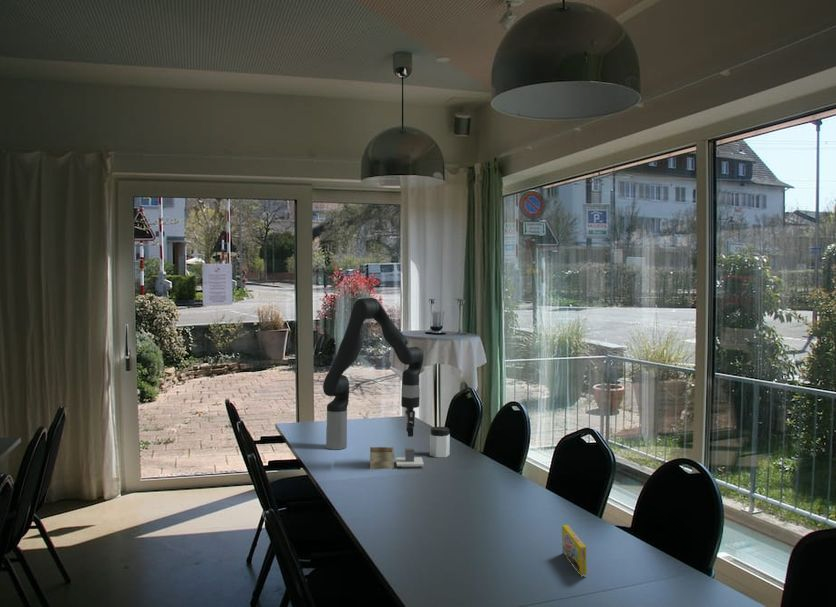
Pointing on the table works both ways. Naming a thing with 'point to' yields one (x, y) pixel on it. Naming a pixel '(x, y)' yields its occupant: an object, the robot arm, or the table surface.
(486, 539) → the table surface
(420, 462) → the lid
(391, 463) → the crate
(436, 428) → the jar
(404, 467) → the mat
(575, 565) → the candy box
